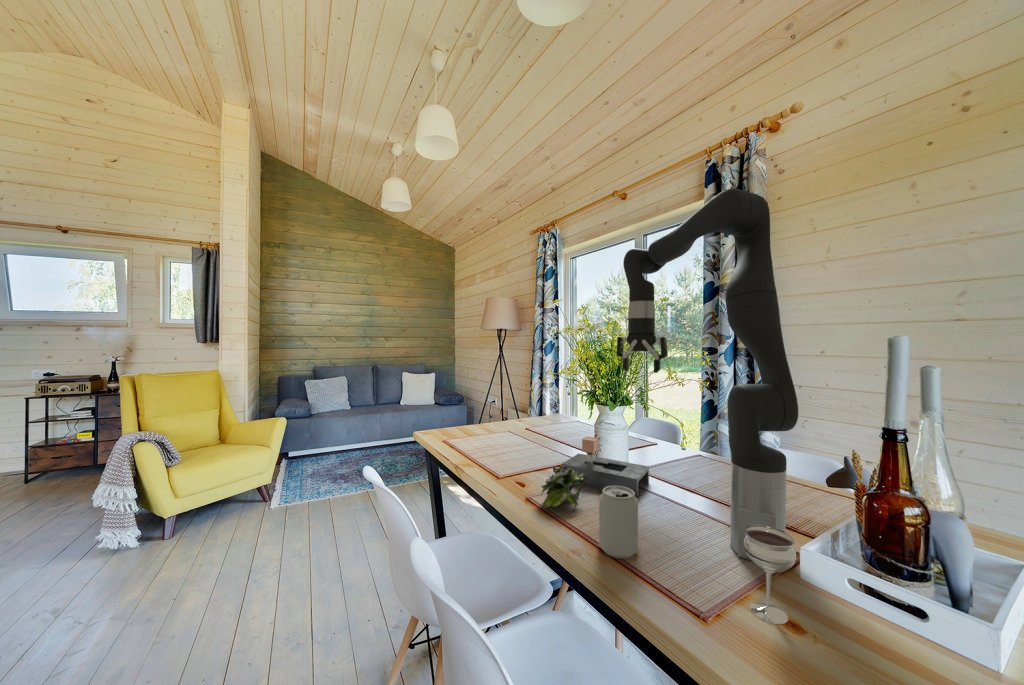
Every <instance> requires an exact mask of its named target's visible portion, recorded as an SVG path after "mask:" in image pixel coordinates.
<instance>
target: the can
mask: <svg viewBox="0 0 1024 685" xmlns="http://www.w3.org/2000/svg"><path fill="white" fill-rule="evenodd" d="M598 499H599V500H598V501H599V502H598V504H599V505H598V509H599V510H598V513H599V514H598V545H599V547H600V549H601V550H602V551H603V552H604V553H605V554H606V555H607V556H610V557H611V558H615V559H621V560H622V559H624V560H625V559H629V558H631V557H633V555H635V554H637V552H638V551H639V549H638V548H639V500H638V498H636V497H635V493H634V491H633V490H631V489H629V488H627V487H623V486H607V487H605V488H604V489H603V490H602V493H600V495H599V497H598Z"/></svg>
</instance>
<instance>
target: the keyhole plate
mask: <svg viewBox="0 0 1024 685" xmlns="http://www.w3.org/2000/svg"><path fill="white" fill-rule="evenodd" d="M561 466H567V468H566V469H570V468H572V470H573V469H574V470H576V471H577V473H578V475H581V474H584V476H585V474H586V476H587V479H586V481H585V483H584V485H583V486H582V487H587V488H593V489H597V490H601V491H603V489H604V488H605V487H607V486H623V487H627V488H629V489H631V490H633V491H634V493H635V497H636V498H637V499H638V498H639V484H643V485H649V484H650V466H648V465H643V464H637V463H632V462H627V461H621V460H615V459H609V458H606V457H600V456H595V455H594V459H593V464H588V463H587V454H583V453H577V454H575V455H573V456H572V457H570V458H569V459H567V460H566V461H564V462H562V463H561ZM566 469H565V471H566ZM562 472H563V471H562ZM578 475H577V477H579V476H578ZM579 483H580V484H579V485H578V486H581V485H582V484H583V482H579Z"/></svg>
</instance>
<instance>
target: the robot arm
mask: <svg viewBox="0 0 1024 685" xmlns="http://www.w3.org/2000/svg"><path fill="white" fill-rule="evenodd" d="M770 214H771V213H770V207H769V204H768V202H767V200H766V199H765V198H764V196H761V195H759V194H758V193H753V192H750V191H747V190H742V189H739V188H727V189H725V190H723V191H721V192H719V193H718V194H716V195H715V196H714V197H712V198H711V199H709V200H708V201H707V202H706V203H705V204H704V205H702V206H701V207H700V208H699V209H698V210H697V211H695V212H694V213H693V214H692V215H691V216H690V217H688V218H687V219H685V220H684V222H682V223H680V225H679V226H677V227H676V228H674V229H672V230H670V231H669V232H667V233H666V234H664V235H662V236H660V237H659V238H657V239H655V240H654V241H653V242H651V243H650V244H649V246H648V248H647V249H643V248H631V249H629V250H627V252H626V253H625V255H624V257H623V270H624V274H625V277H626V281H627V284H628V288H629V289H628V290H629V294H628V296H629V297H628V300H629V301H628V312H627V313H628V315H627V316H628V317H627V324H628V325H627V327H628V328H627V337H624V336H618V337H617V341H616V351H615V352H616V354H615V355H616V356H617V357H619V358H621V359H622V369H623V370H624V372H629V370H630V358H629V357H630V356H631V355H632V353H634V352H648V353H649V354H651V355H652V356H653V358H654V360H653V373H654V374H657V373H659V371H661V360H662V359H665V358H667V357H668V341H667V340H668V339H667V337H666V336H660V337H657V336H656V306H655V284H654V283H653V282H651V281H649V280H646V279H645V277H644V275H650V274H654V273H656V272H658V271H660V270H661V269H662V268H663V267H665V265H666V264H667V263H670V262H672V261H674V260H676V259H678V258H680V257H682V256H684V255H685V254H686V253H687V252H689V251H690V250H691V248H692V246H693V245H694V243H695V241H696V240H697V239H699V238H701V237H705V236H706V235H709V234H714V233H717V232H718V233H721V234H725V235H729V236H732V237H734V238H733V239H734V241H735V245H736V246H735V247H736V253H737V254H736V255H737V256H736V257H737V258H736V259H737V260H736V266H735V268H734V271H733V272H732V275H731V276H730V278H729V280H728V283H727V285H726V288H725V294H724V295H725V297H724V298H725V299H724V300H725V307H726V315H727V316H726V317H727V322H728V326H729V327H730V329H731V331H732V332H733V333H734V336H736V337H737V338H738V340H739V341H740V342H741V343H742V345H744V347H745V348H746V350H747V351H748V352H749V353H750V355H751V357H752V358H753V359H754V360H755V364H756V366H757V368H758V371H759V375H760V379H761V383H739V384H736V385H734V386H733V387H732V388H731V389H730V390H729V393H728V397H727V404H726V405H727V408H726V410H727V426H728V445H729V449H730V457H731V458H730V465H731V466H730V468H731V469H730V471H731V472H730V521H729V522H730V525H729V526H730V528H729V529H730V536H729V537H730V540H729V542H730V548H732V551H734V552H735V553H736V556H737V557H738V558H743V559H745V560H749V561H752V560H751V559H750V557H749V556H748V555H747V553H746V551H745V548H744V539H745V537H746V533H745V531H744V529H745V527H747V526H750V525H763V526H769V527H773V528H776V529H779V530H781V531H784V532H786V524H787V523H786V522H787V521H786V520H787V518H786V517H787V516H786V514H787V511H786V510H787V457H786V455H785V454H784V452H782V451H780V450H779V449H776V448H773V447H771V446H767V445H765V444H763V443H761V438H760V432H788V431H791V430H793V429H794V428H795V427H796V425H797V423H798V420H799V403H798V398H797V393H796V388H795V386H794V382H793V376H792V373H791V370H790V366H789V362H788V359H787V354H786V348H785V345H784V344H785V343H784V338H783V332H782V331H783V330H782V324H781V313H780V306H779V300H778V293H777V288H776V283H775V277H774V276H775V275H774V265H773V258H772V251H771V250H772V249H771V215H770ZM626 342H627V343H628V345H629V346H628V347H627V349H626V350H625V352H624V345H625V344H626ZM656 342H657V343H658V345H660V354H659V352H658V351H657V348H656V347H655V343H656Z"/></svg>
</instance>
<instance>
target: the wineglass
mask: <svg viewBox="0 0 1024 685" xmlns="http://www.w3.org/2000/svg"><path fill="white" fill-rule="evenodd" d="M744 531H745V533H746V537H745V539H744V548H745V551H746V553H747V555H748V556H749V557H750V559H751V560H750V561H752V562H753V564H755V565H756V566H758V567H759V568H760V569H762V570H763V571H764V572H765V586H766V589H765V590H766V591H765V592H766V601H760V600H756V601H755V600H754V601H752V602H751V603H750V604H749V609H750V611H751V612H752V613H753V615H755V616H756V617H757V618H759V619H761V620H762V621H764V622H767V623H770V624H775V625H783V624H786V623H787V622H788V621H789V617H788V615H787V613H786V612H785V611H784V610H782V609H781V608H780V607H779V606H777V605H774V604H773V603H771V594H772V593H771V591H772V578H773V575H774V574H775V573H783V572H785V571H788V570H790V569H791V568H792V567H793V566H794V565H795V564H796V563H795V562H796V558H797V553H796V549H795V546H796V544H797V540H796V539H795V538H794V537H793V536H792V535H791V534H789V533H787V532H786V531H785V532H784V531H781V530H779V529H776V528H773V527H769V526H763V525H750V526H747V527H745V529H744Z"/></svg>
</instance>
